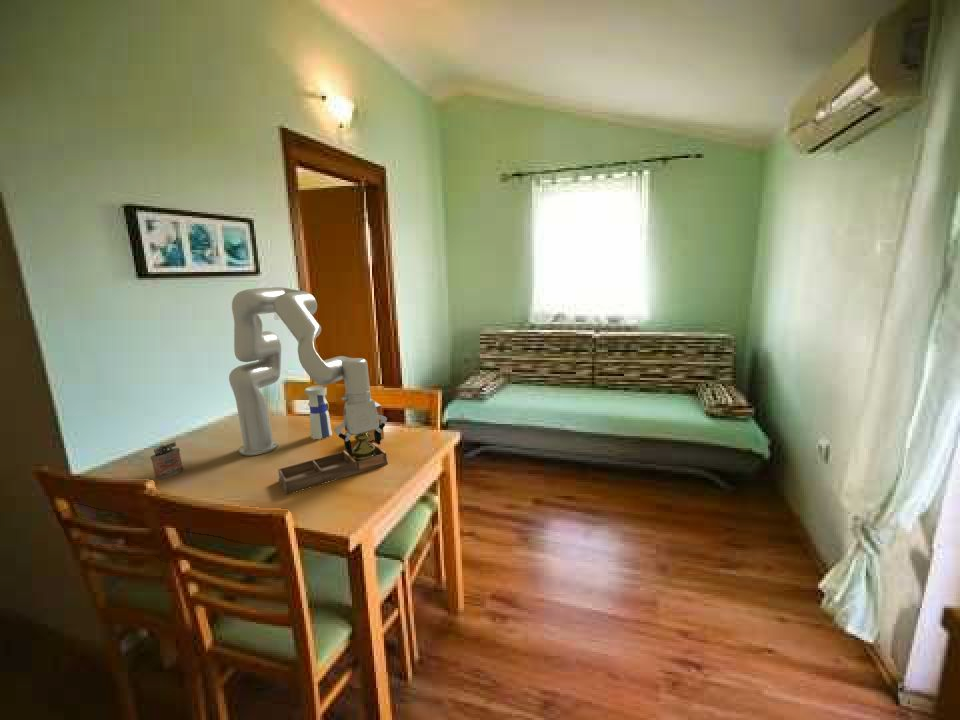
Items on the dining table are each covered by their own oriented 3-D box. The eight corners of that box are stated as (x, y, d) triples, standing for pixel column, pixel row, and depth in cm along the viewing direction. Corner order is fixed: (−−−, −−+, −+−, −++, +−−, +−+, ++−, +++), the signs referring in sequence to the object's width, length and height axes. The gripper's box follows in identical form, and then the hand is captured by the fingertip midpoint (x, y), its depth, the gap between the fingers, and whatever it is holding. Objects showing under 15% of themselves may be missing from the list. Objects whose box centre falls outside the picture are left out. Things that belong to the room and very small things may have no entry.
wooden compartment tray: (278, 481, 133) (277, 468, 132) (374, 453, 151) (373, 442, 150) (287, 495, 124) (285, 482, 123) (388, 464, 141) (387, 452, 141)
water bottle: (326, 430, 176) (319, 369, 170) (336, 434, 170) (329, 372, 165) (306, 436, 170) (298, 374, 165) (316, 441, 164) (308, 377, 159)
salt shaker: (348, 461, 143) (345, 432, 141) (368, 454, 148) (365, 426, 146) (360, 467, 138) (357, 438, 136) (380, 460, 143) (377, 431, 141)
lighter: (157, 480, 137) (151, 450, 135) (153, 478, 139) (146, 448, 137) (185, 470, 144) (180, 441, 142) (180, 468, 146) (175, 440, 144)
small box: (363, 443, 160) (360, 409, 157) (358, 438, 165) (354, 405, 163) (384, 438, 164) (381, 405, 162) (378, 433, 170) (375, 401, 167)
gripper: (335, 405, 131) (341, 458, 134) (388, 394, 140) (393, 443, 144) (327, 400, 137) (333, 450, 140) (379, 389, 146) (384, 437, 150)
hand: (363, 447), depth 142 cm, fingers open, 9 cm apart
